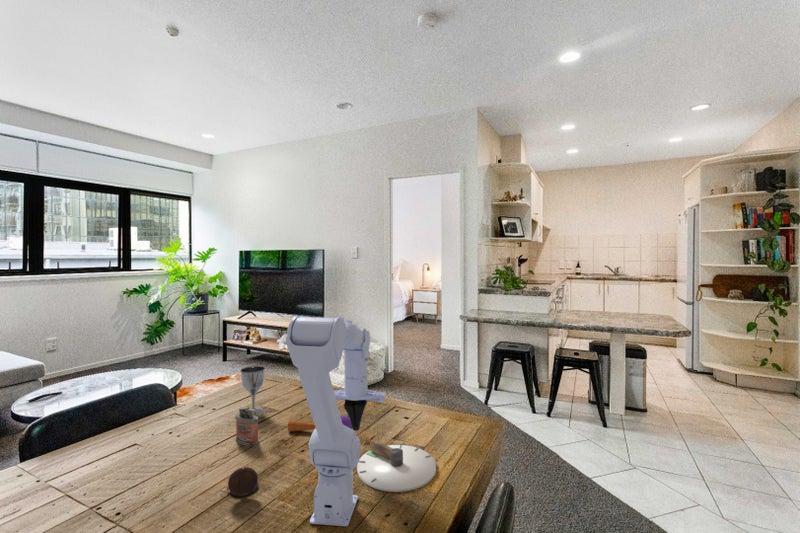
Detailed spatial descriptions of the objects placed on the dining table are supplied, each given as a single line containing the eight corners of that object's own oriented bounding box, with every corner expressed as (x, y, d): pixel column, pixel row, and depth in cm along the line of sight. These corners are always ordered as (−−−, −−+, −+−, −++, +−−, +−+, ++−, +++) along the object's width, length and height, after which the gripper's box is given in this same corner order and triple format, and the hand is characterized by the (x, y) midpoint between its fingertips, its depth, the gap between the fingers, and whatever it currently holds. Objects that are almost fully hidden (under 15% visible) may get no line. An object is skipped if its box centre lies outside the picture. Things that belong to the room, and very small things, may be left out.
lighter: (232, 441, 112) (232, 407, 112) (242, 436, 115) (242, 403, 115) (252, 447, 109) (251, 412, 108) (261, 442, 112) (261, 408, 111)
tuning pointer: (405, 462, 98) (405, 451, 98) (397, 467, 96) (397, 455, 96) (376, 448, 105) (376, 438, 105) (367, 453, 103) (367, 442, 103)
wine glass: (240, 409, 136) (240, 367, 135) (264, 405, 139) (263, 364, 139) (241, 418, 129) (241, 373, 128) (266, 413, 132) (266, 370, 132)
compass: (258, 479, 93) (257, 449, 93) (257, 498, 86) (257, 466, 86) (221, 486, 91) (221, 455, 90) (218, 506, 83) (218, 473, 83)
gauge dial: (435, 494, 87) (435, 489, 87) (348, 488, 89) (348, 483, 89) (436, 450, 107) (436, 446, 107) (366, 446, 109) (366, 442, 109)
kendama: (294, 414, 123) (354, 413, 119) (294, 433, 122) (355, 433, 118) (285, 418, 117) (348, 417, 113) (285, 439, 116) (349, 439, 112)
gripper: (386, 371, 100) (387, 423, 100) (332, 369, 101) (333, 420, 102) (382, 380, 93) (382, 435, 93) (324, 378, 94) (324, 433, 95)
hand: (356, 428), depth 97 cm, fingers closed
